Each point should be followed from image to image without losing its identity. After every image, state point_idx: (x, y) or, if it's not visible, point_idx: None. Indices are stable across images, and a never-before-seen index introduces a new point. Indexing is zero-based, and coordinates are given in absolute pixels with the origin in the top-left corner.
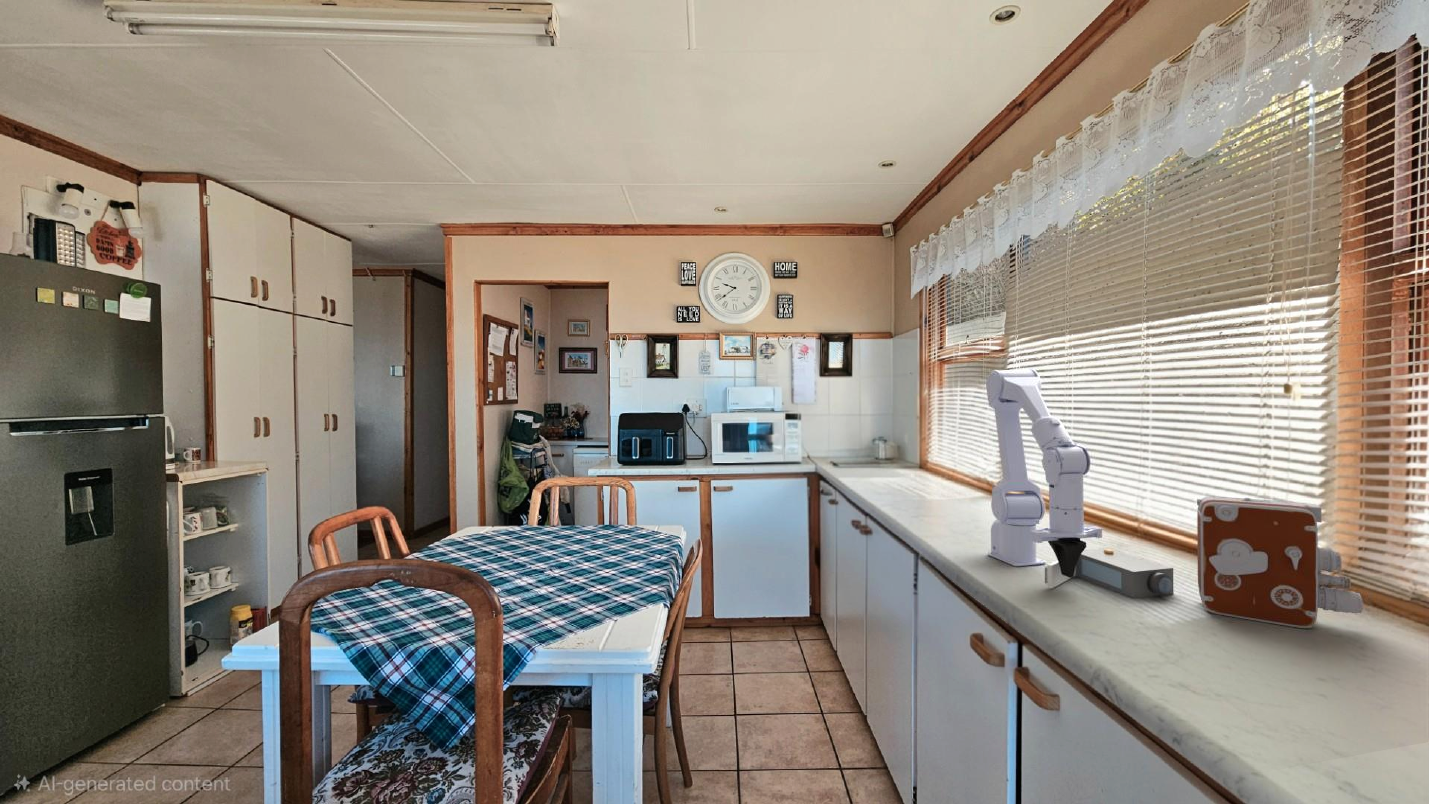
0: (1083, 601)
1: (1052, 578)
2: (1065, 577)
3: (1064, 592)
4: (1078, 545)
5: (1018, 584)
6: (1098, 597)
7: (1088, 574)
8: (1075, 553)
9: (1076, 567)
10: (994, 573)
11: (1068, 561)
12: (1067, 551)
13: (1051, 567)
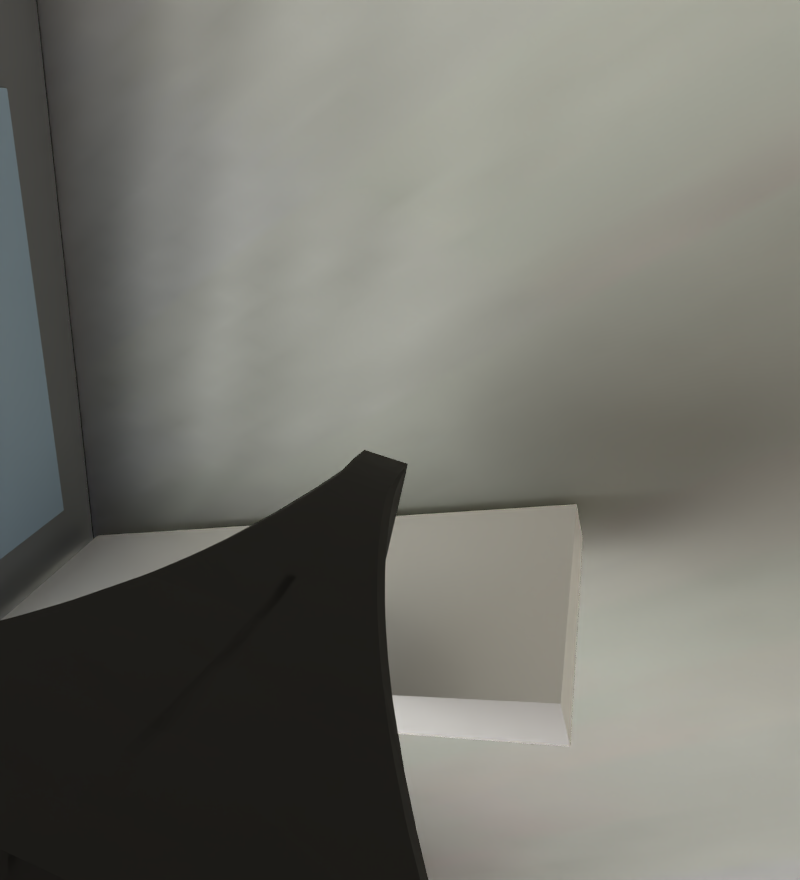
0: (645, 119)
1: (550, 571)
2: None
3: (528, 401)
4: (5, 869)
5: (683, 705)
6: (351, 128)
7: (42, 465)
8: (210, 671)
9: (39, 577)
10: (579, 859)
11: (384, 617)
12: (412, 833)
13: (560, 683)
